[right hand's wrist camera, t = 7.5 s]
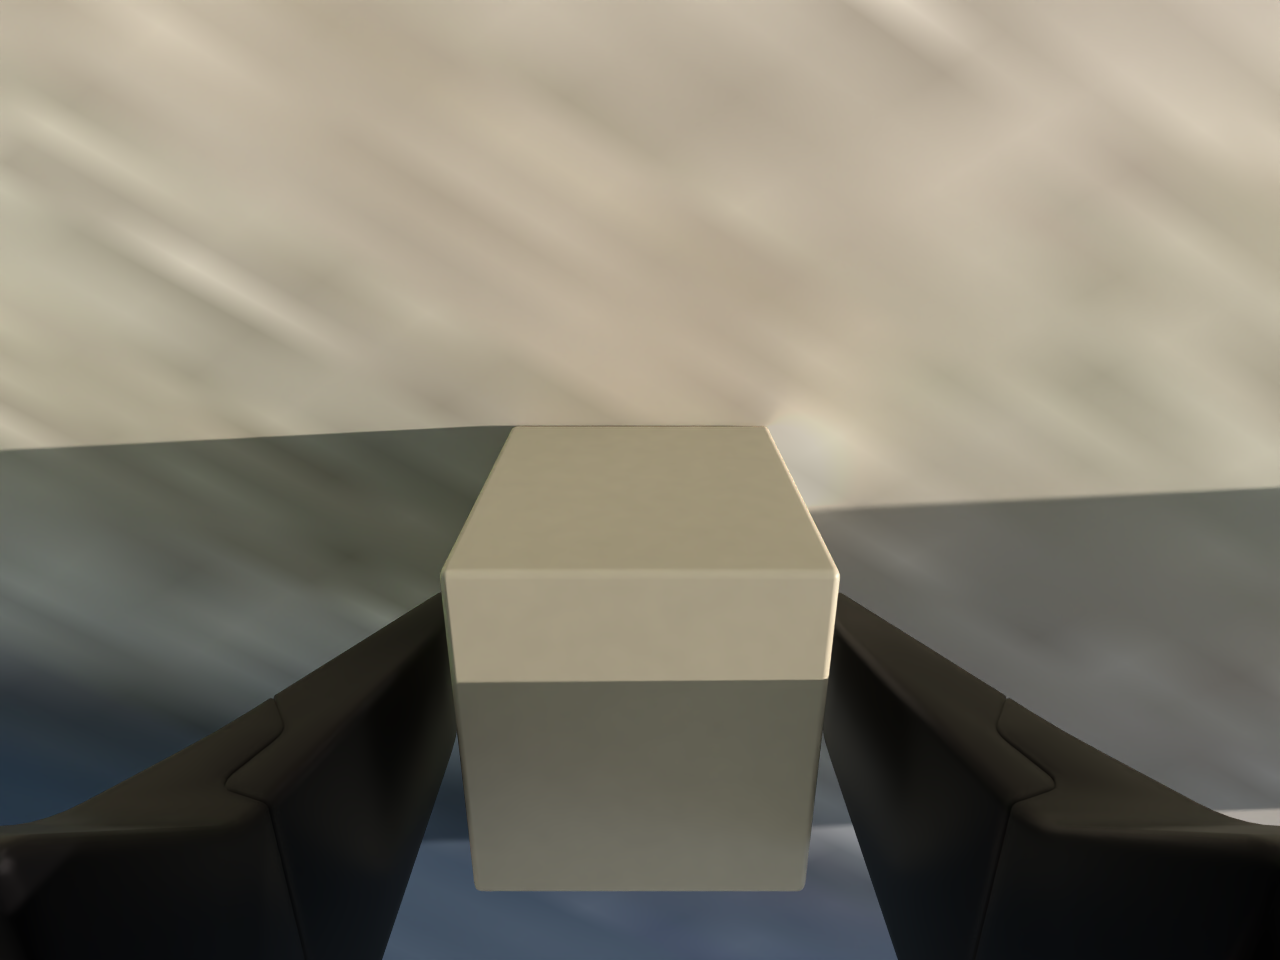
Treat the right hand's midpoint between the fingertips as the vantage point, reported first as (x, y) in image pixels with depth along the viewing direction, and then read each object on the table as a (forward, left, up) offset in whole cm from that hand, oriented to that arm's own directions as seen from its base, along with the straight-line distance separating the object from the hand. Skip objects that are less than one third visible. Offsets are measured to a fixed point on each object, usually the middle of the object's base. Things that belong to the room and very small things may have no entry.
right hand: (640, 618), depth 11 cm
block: (0, 0, -2) cm, 2 cm away
